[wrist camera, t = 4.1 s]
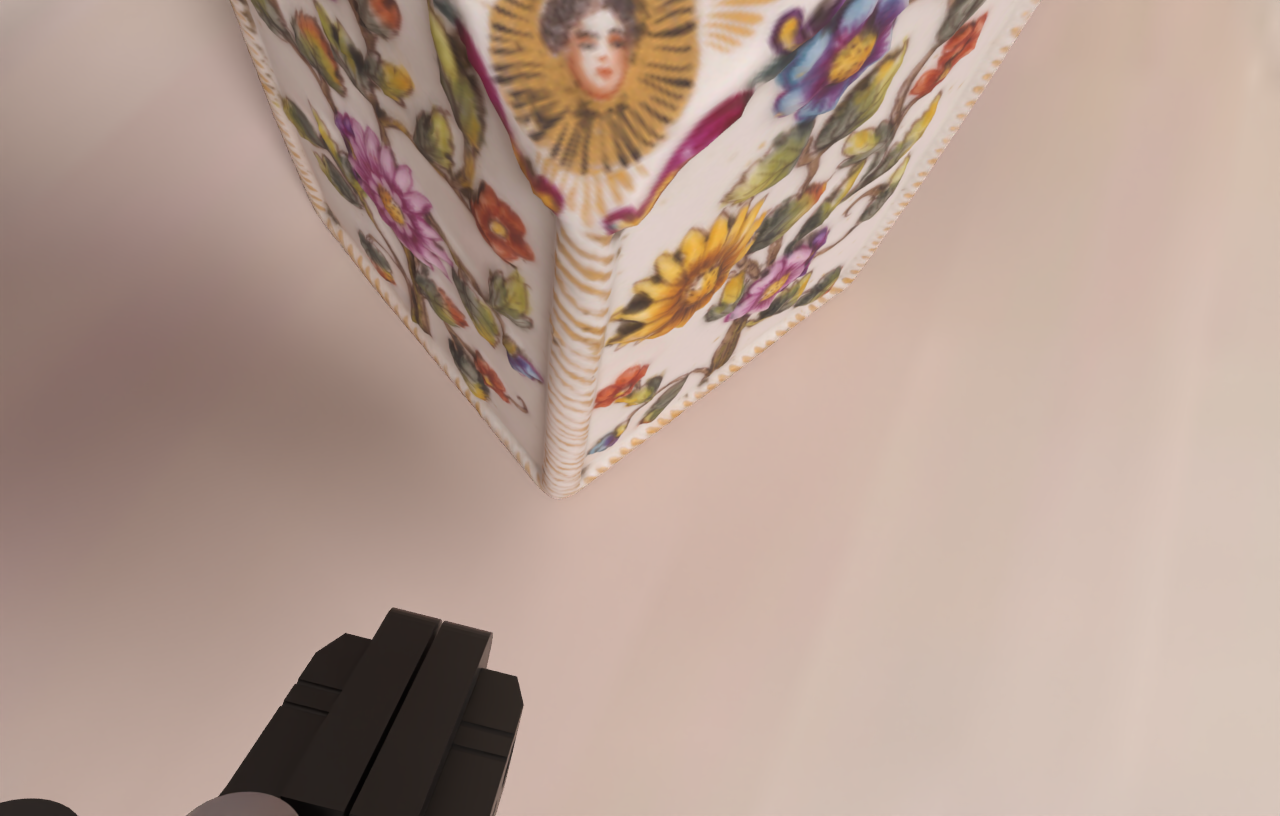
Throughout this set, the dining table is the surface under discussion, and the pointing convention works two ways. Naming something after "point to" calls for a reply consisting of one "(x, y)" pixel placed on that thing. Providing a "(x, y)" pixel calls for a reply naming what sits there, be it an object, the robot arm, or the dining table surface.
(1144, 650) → the dining table surface
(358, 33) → the decorative jar
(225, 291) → the dining table surface
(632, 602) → the dining table surface
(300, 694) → the robot arm
